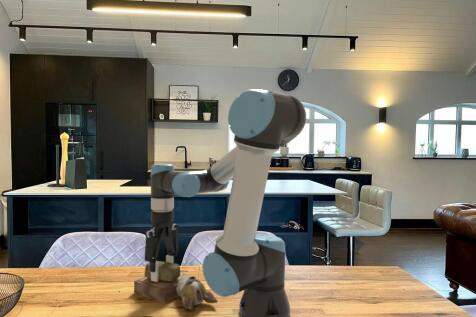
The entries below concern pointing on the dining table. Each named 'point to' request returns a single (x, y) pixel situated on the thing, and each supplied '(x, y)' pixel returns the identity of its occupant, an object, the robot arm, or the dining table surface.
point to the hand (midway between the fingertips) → (162, 277)
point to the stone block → (165, 271)
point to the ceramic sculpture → (193, 292)
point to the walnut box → (156, 289)
